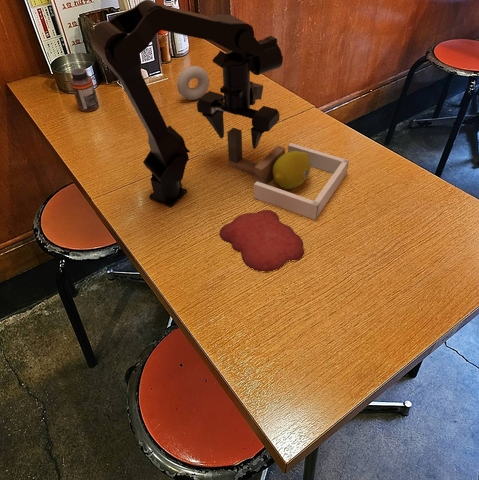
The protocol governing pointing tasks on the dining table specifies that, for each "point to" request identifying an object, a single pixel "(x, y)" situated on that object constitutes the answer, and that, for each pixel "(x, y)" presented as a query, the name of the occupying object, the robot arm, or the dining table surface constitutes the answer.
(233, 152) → the scraper
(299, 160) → the lemon
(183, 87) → the donut
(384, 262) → the dining table surface
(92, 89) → the supplement bottle
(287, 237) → the red spill
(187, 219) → the dining table surface
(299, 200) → the box
